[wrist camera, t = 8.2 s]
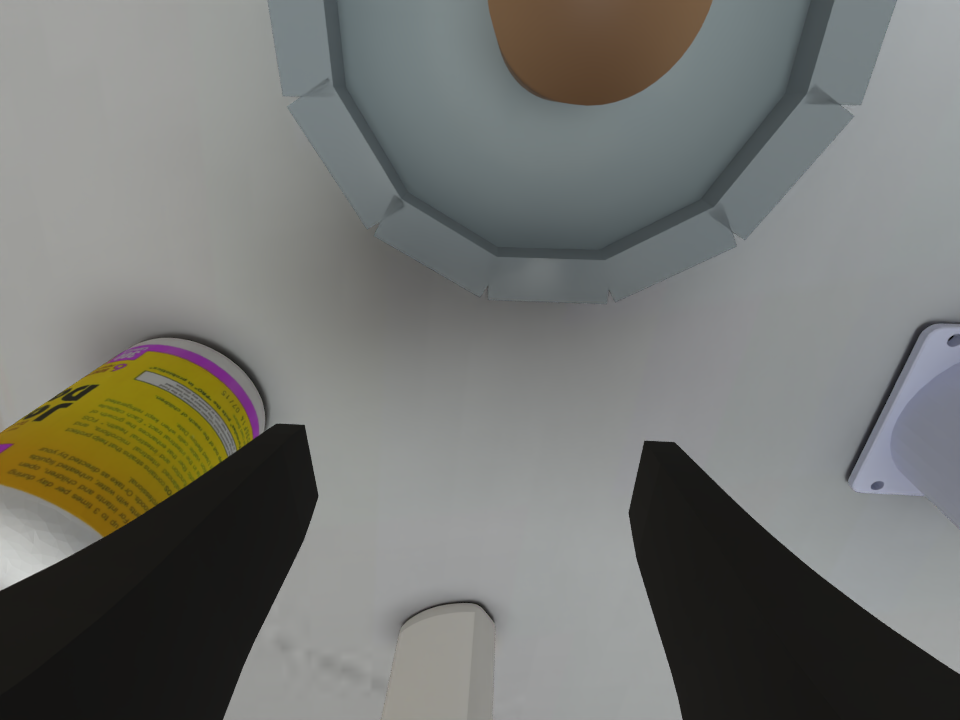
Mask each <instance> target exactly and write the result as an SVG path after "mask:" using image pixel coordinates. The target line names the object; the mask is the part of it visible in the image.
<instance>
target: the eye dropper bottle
mask: <svg viewBox="0 0 960 720" xmlns="http://www.w3.org/2000/svg"><path fill="white" fill-rule="evenodd" d="M494 662H495V625H494V622H493V621H492V619H491V618H490V617H489V616H488V614H487V613H486V612H485V611H484V610H483V609H482V607H480V606H479V605H477V604H473V603H456V604H447V605H442V606H437V607H434V608H431V609H428V610H425V611H423V612H421V613H419V614H417V615H415V616H414V617H412V618H411V619H409V620H408V621H407V622H406V623H405V624H404V625H403V626H402V628H401V630H400V632H399V636H398V641H397V645H396V650H395V655H394V660H393V664H392V669H391V674H390V679H389V683H388V688H387V693H386V698H385V703H384V707H383V712H382V717H381V720H493V692H494Z"/></svg>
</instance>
